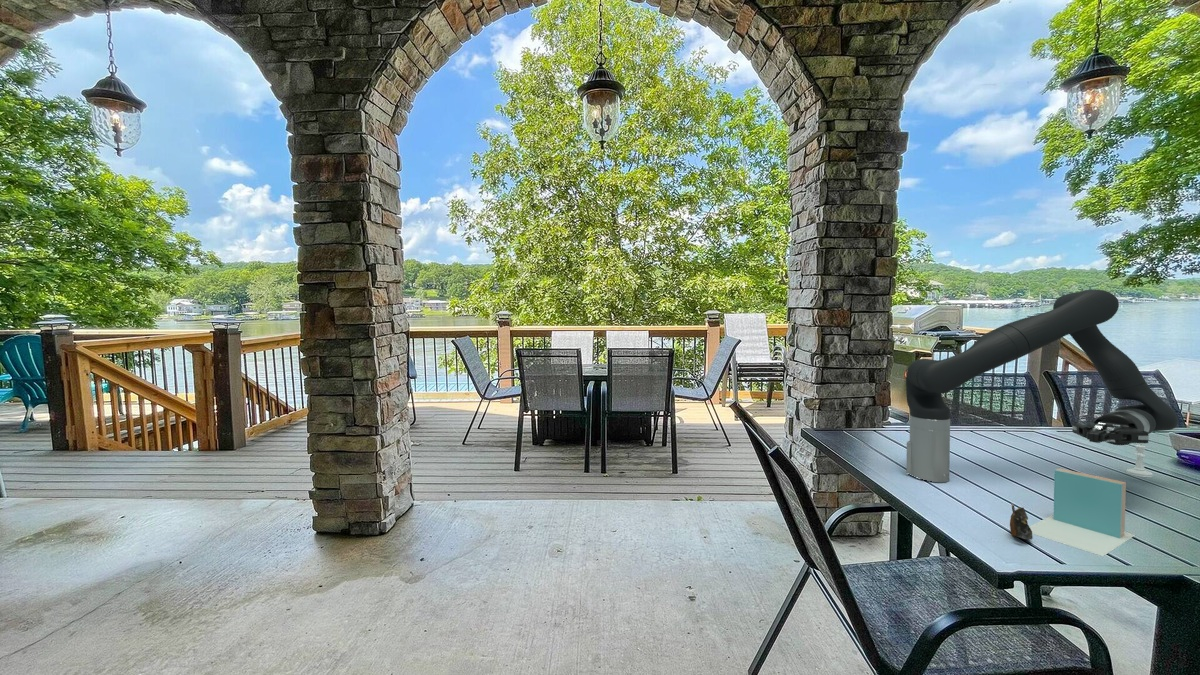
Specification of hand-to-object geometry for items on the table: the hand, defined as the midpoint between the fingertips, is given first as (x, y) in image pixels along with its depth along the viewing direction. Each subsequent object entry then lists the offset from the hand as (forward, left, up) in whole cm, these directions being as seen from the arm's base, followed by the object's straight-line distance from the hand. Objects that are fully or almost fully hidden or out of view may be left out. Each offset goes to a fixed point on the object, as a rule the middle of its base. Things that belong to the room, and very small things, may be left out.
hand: (1094, 437), depth 104 cm
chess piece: (+5, +46, -18) cm, 49 cm away
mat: (0, -16, -17) cm, 24 cm away
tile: (+1, -11, -17) cm, 21 cm away
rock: (-7, -29, -18) cm, 35 cm away
